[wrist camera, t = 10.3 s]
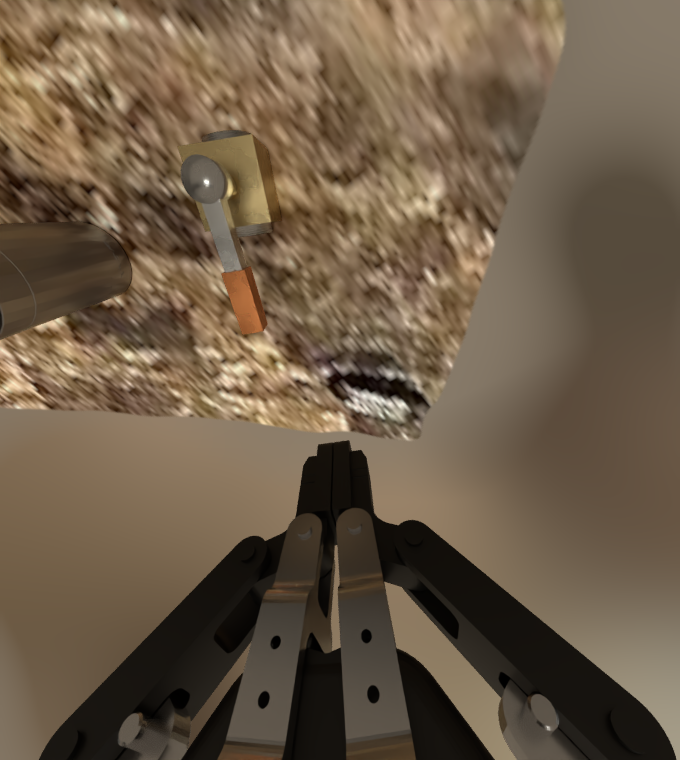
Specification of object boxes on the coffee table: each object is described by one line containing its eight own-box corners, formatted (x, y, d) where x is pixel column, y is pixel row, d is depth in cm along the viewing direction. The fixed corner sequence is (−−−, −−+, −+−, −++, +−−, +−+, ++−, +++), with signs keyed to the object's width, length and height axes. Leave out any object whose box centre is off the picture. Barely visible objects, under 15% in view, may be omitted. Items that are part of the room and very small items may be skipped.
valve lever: (188, 163, 24) (173, 158, 22) (224, 156, 24) (213, 150, 21) (244, 327, 31) (237, 335, 29) (272, 322, 31) (267, 330, 29)
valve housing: (230, 237, 36) (196, 245, 27) (204, 147, 31) (152, 122, 23) (283, 229, 36) (267, 234, 27) (265, 137, 31) (238, 107, 22)
